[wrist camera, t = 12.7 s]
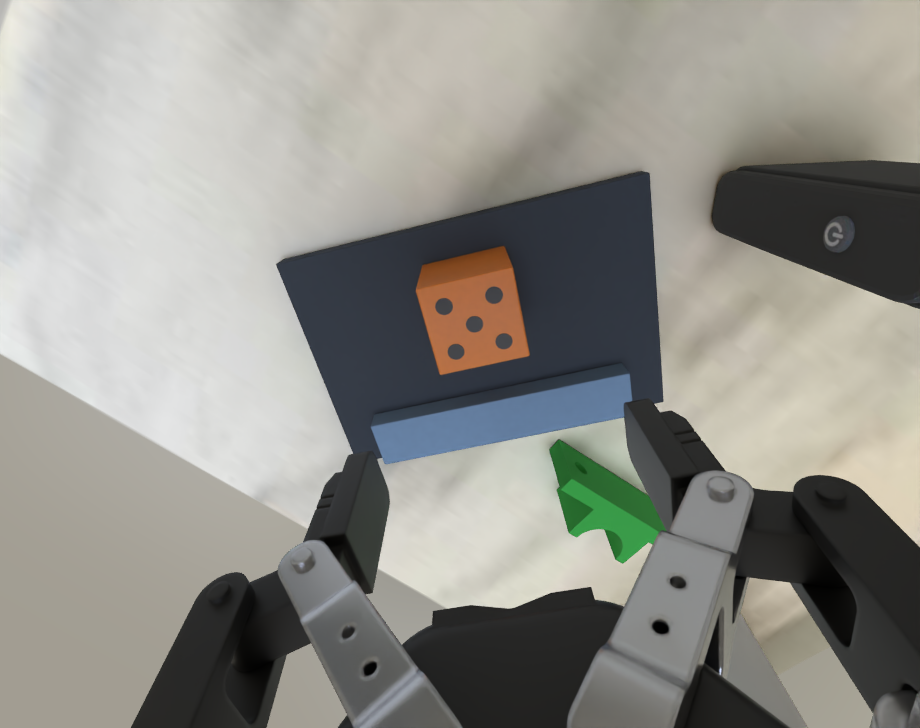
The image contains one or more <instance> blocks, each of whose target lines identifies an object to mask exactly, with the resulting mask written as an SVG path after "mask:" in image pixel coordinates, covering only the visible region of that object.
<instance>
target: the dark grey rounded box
mask: <svg viewBox="0 0 920 728" xmlns="http://www.w3.org/2000/svg"><path fill="white" fill-rule="evenodd" d="M712 219H713V224H714V227H715V229H716V230H717V231H718V232H720V233H722V234H724V235H727V236H729V237H732V238H734V239H737V240H739V241H741V242H744V243H746V244H749V245H751V246H754V247H756V248H759V249H761V250H764V251H766V252H769V253H771V254H774V255H776V256H779V257H782V258H784V259H787V260H789V261H792V262H795V263H797V264H800V265H802V266H805V267H807V268H810V269H813V270H815V271H818V272H820V273H823V274H825V275H828V276H831V277H833V278H836V279H838V280H841V281H843V282H846V283H849V284H851V285H854V286H856V287H859V288H862V289H864V290H867V291H869V292H872V293H874V294H877V295H880V296H882V297H885V298H887V299H890V300H893V301H895V302H900V303H904V304H907V305H910V306H912V307H915V308H918V309H920V163H906V162H891V161H875V160H868V161H846V162H824V163H802V164H780V165H758V166H743V167H740V168H739V169H738V170H736V171H731V172H729V173H727V174H725V175H724V176H723V177H722V178H721V180H720V182H719V184H718V186H717V191H716V197H715V202H714V208H713V213H712Z"/></svg>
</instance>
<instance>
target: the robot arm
mask: <svg viewBox="0 0 920 728" xmlns="http://www.w3.org/2000/svg"><path fill="white" fill-rule="evenodd" d="M624 418H625V428H626V438H627V446H628V451H629V455H630V458H631V461H632V463H633V465H634V467H635V469H636V471H637V473H638V475H639V477H640V479H641V481H642V483H643V485H644V487H645V489H646V491H647V493H648V495H649V497H650V499H651V501H652V503H653V505H654V507H655V509H656V511H657V513H658V515H659V517H660V519H661V521H662V523H663V525H664V527H665V529H666V531H664V530H661V531H660V532H659V533H658V535H657V537H656V539H655V541H654V543H653V545H652V548H651V550H650V552H649V554H648V556H647V558H646V561H645V563H644V565H643V567H642V569H641V571H640V574H639V576H638V578H637V580H636V582H635V584H634V587H633V589H632V591H631V593H630V595H629V597H628V600H627V602H626V604H625V606H624V607H623V606H621V605H617V604H614V603H611V602H606V601H599V600H595V599H594V596H593V592H592V589H591V587H587V588H581V589H574V590H568V591H561V592H555V593H550V594H548V595H545V596H543V597H540V598H538V599H535V600H533V601H530V602H528V603H525V604H523V605H520V606H518V607H515V608H512V609H505V608H494V607H484V606H473V605H470V606H463V607H457V608H450V609H444V610H437V611H433V619H432V625H431V626H428V627H426V628H425V629H423V630H421V631H419V632H418V633H416V634H415V635H413V636H412V637H410V638H409V639H408V640H407V641H406V642H405V643H403V645H401V644H400V642H399V641H398V639H397V638H396V636H395V635H394V634H393V632H392V631H391V630H390V628H389V627H388V626H387V624H386V622H385V621H384V620H383V618H382V617H381V615H380V614H379V613H378V611H377V610H376V609H375V607H374V606H373V604H372V603H371V602H370V600H369V599H368V598H367V596H366V595H365V594H370V593H373V588H374V583H375V578H376V572H377V568H378V562H379V557H380V552H381V547H382V542H383V537H384V531H385V526H386V521H387V516H388V511H389V505H390V499H389V491H388V487H387V485H386V482H385V479H384V477H383V474H382V472H381V469H380V466H379V464H378V461H377V459H376V456H375V454H374V452H373V451H367V452H361V453H356V454H351V455H349V456H348V457H347V460H346V463H345V465H344V468H343V471H342V472H339V473H335V474H334V475H333V476H332V478H331V479H330V480H329V481H328V482H327V483H326V485H325V487H324V489H323V492H322V494H321V499H320V500H319V502H318V505H317V509H316V510H315V513H314V515H313V518H312V520H311V523H310V526H309V528H308V531H307V534H306V536H305V539H304V541H303V543H301V544H299V545H297V546H295V547H294V548H292V549H291V550H290V551H289V552H288V553H287V554H286V555H285V556H284V557H283V558H282V560H281V562H280V564H279V566H278V570H277V571H275V572H273V573H271V574H268V575H266V576H264V577H261V578H259V579H257V580H254V581H252V582H250V583H249V581H248V579H247V578H246V576H245V575H244V574H242V573H238V572H234V573H229V574H226V575H223V576H221V577H219V578H217V579H216V580H214V581H213V582H211V583H210V584H209V585H208V586H206V587H205V588H204V589H203V590H202V592H201V593H200V594H199V596H198V597H197V599H196V600H195V602H194V604H193V606H192V608H191V610H190V612H189V614H188V616H187V618H186V620H185V622H184V624H183V626H182V628H181V630H180V632H179V634H178V636H177V638H176V640H175V642H174V644H173V646H172V648H171V650H170V651H169V654H168V655H167V658H166V659H165V661H164V663H163V665H162V667H161V669H160V671H159V673H158V675H157V677H156V679H155V681H154V683H153V685H152V687H151V689H150V691H149V693H148V695H147V697H146V699H145V701H144V703H143V705H142V707H141V709H140V711H139V713H138V715H137V717H136V719H135V721H134V723H133V725H132V726H131V728H266V727H267V723H268V720H269V716H270V712H271V709H272V705H273V702H274V698H275V695H276V691H277V688H278V684H279V680H280V677H281V673H282V669H283V666H284V662H285V659H286V655H287V654H289V653H291V652H293V651H295V650H297V649H299V648H301V647H303V646H306V645H308V644H310V643H311V644H312V646H313V648H314V649H315V652H316V654H317V655H318V657H319V659H320V661H321V663H322V665H323V667H324V669H325V671H326V673H327V675H328V677H329V679H330V681H331V683H332V685H333V687H334V689H335V691H336V693H337V695H338V697H339V699H340V701H341V703H342V705H343V707H344V709H345V711H346V713H347V716H346V717H345V719H344V720H343V721H342V723H341V724H340V725H339V727H338V728H790V727H789V726H787V725H786V724H785V723H783V722H782V721H781V720H779V719H778V718H777V717H775V716H774V715H773V714H771V713H770V712H769V711H768V710H766V709H765V708H764V707H762V706H761V705H760V704H758V703H757V702H756V701H754V700H753V699H752V698H750V697H749V696H748V695H746V694H745V693H744V692H742V691H741V690H740V689H738V688H737V687H736V686H734V685H733V684H732V683H730V682H729V681H728V680H726V679H727V675H728V671H729V666H730V660H731V653H732V646H733V640H734V635H735V631H736V627H737V623H738V620H739V616H740V612H741V608H742V604H743V601H744V597H745V593H746V589H747V585H748V582H749V578H758V579H767V580H775V581H783V582H790V583H791V585H792V587H793V588H794V590H795V591H796V593H797V594H798V596H799V598H800V599H801V601H802V602H803V604H804V605H805V607H806V609H807V610H808V612H809V613H810V615H811V616H812V618H813V620H814V621H815V623H816V624H817V626H818V627H819V629H820V631H821V632H822V634H823V635H824V637H825V638H826V640H827V642H828V643H829V645H830V646H831V648H832V649H833V651H834V653H835V654H836V656H837V657H838V659H839V660H840V662H841V664H842V665H843V667H844V668H845V670H846V671H847V673H848V674H849V676H850V678H851V679H852V681H853V682H854V684H855V686H856V687H857V689H858V690H859V692H860V693H861V695H862V697H863V698H864V700H865V701H866V703H867V704H868V706H869V708H870V709H871V711H872V712H873V716H872V720H871V725H870V728H920V547H919V546H918V545H917V544H916V543H915V542H914V541H913V540H912V539H911V538H910V537H909V536H908V535H907V534H906V533H905V532H904V531H903V530H902V529H901V528H900V527H899V526H898V525H897V524H896V523H895V522H894V521H893V520H892V519H891V518H890V517H889V516H888V515H887V514H886V513H885V512H884V511H883V510H882V509H881V508H880V507H879V506H878V505H877V504H876V503H875V502H874V501H873V500H872V499H871V498H870V497H869V496H868V495H867V494H866V493H865V492H864V491H863V490H862V489H861V488H859V487H858V486H856V485H855V484H853V483H851V482H849V481H846V480H844V479H840V478H837V477H832V476H825V475H815V476H808V477H805V478H802V479H800V480H799V481H798V482H797V483H796V484H795V486H794V490H793V492H784V491H768V490H760V489H755V488H752V486H751V485H750V484H749V483H748V482H747V481H746V480H745V479H743V478H742V477H740V476H738V475H736V474H733V473H730V472H726V471H725V470H724V468H723V467H722V466H721V464H720V463H719V462H718V460H717V459H716V458H715V457H714V455H713V454H712V453H711V451H710V450H709V449H708V447H707V446H706V445H705V443H704V442H703V441H701V438H700V437H699V436H698V434H697V433H696V432H694V429H693V428H692V426H691V425H690V424H689V422H688V421H687V420H686V419H685V418H684V417H682V416H680V415H678V414H676V413H675V412H673V411H666V412H661V413H660V412H659V410H658V409H657V408H656V406H655V405H654V403H653V402H652V400H651V399H650V398H646V399H641V400H635V401H630V402H625V403H624Z"/></svg>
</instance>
